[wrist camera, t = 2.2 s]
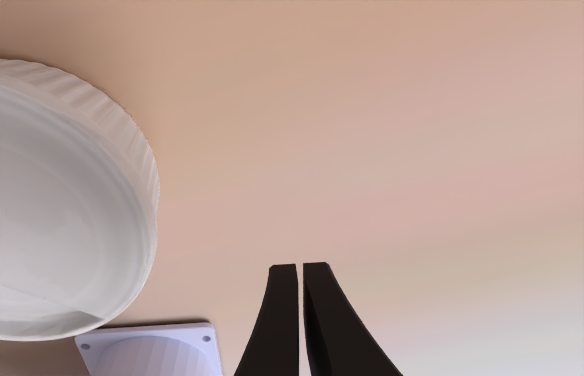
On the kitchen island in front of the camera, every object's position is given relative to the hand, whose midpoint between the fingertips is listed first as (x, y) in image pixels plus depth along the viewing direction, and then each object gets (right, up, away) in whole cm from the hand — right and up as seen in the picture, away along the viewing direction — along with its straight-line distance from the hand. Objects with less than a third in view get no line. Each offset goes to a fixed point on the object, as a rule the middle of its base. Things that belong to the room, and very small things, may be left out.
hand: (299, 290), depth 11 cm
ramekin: (-11, +4, +7) cm, 14 cm away
